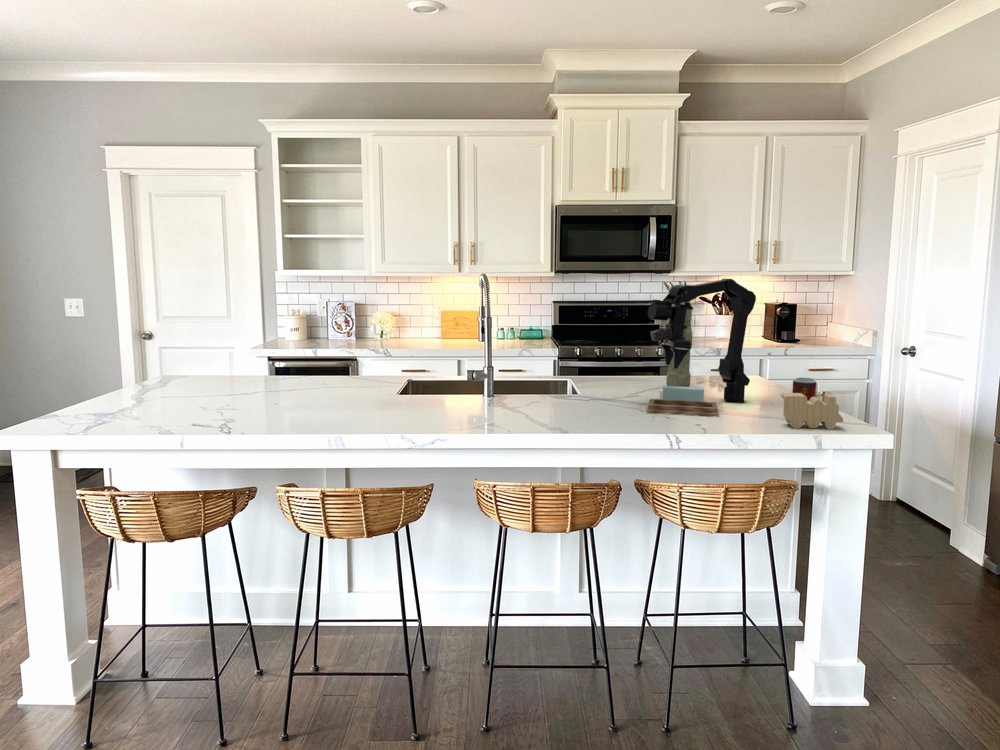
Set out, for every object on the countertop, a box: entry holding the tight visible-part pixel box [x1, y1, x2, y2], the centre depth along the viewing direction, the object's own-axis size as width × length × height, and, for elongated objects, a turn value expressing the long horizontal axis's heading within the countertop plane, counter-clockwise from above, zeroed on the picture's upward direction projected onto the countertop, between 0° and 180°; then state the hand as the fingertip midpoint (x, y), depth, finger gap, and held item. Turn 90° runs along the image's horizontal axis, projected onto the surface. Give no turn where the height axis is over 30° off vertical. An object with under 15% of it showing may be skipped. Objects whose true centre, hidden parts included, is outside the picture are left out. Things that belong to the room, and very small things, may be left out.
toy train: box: [780, 392, 844, 430], centre depth 219 cm, size 6×17×10 cm, turn 82°
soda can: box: [791, 377, 818, 401], centre depth 234 cm, size 7×7×12 cm
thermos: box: [666, 301, 693, 387], centre depth 275 cm, size 9×12×35 cm
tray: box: [645, 398, 720, 417], centre depth 241 cm, size 23×13×2 cm, turn 75°
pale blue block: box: [659, 385, 705, 402], centre depth 255 cm, size 15×5×6 cm, turn 75°
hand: (671, 366), depth 249 cm, fingers open, 9 cm apart
